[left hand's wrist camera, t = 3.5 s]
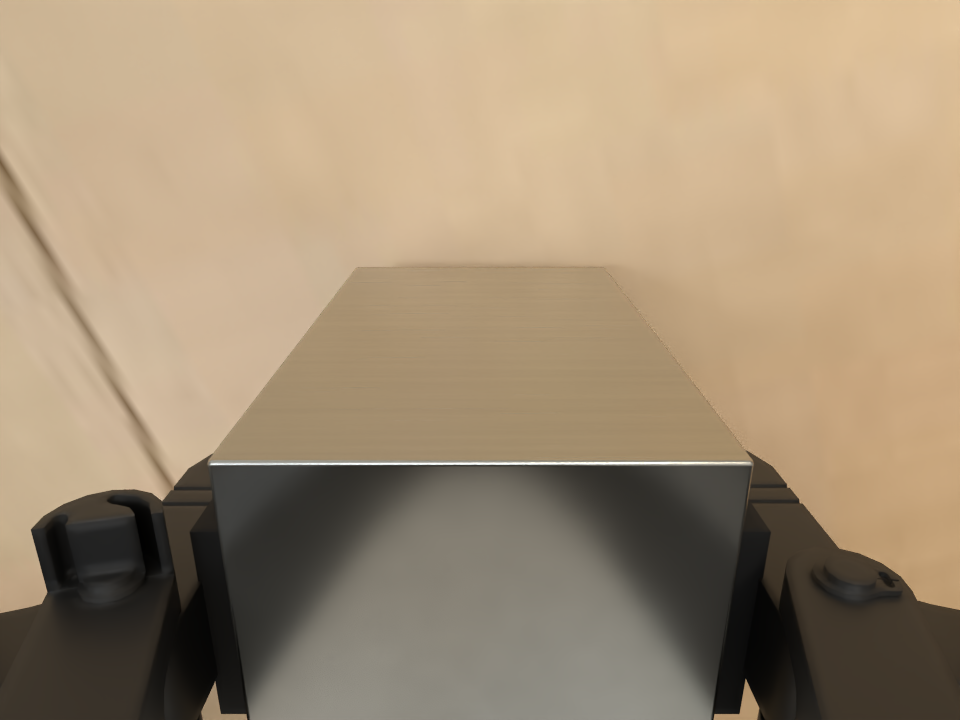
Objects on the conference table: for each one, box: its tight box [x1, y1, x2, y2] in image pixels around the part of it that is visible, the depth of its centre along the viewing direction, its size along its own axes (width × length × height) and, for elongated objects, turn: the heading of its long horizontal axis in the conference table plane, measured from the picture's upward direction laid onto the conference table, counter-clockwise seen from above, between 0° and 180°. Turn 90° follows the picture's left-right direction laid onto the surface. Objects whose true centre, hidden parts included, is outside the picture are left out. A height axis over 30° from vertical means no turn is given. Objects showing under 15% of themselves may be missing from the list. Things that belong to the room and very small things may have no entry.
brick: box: [207, 267, 754, 720], centre depth 11 cm, size 5×6×8 cm
